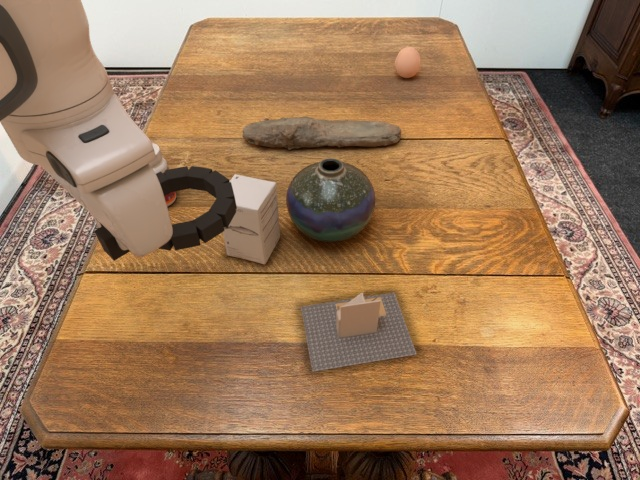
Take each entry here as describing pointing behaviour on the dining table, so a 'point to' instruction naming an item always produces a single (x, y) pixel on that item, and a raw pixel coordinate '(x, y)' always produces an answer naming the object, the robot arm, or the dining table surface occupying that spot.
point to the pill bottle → (161, 166)
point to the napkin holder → (356, 331)
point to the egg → (407, 62)
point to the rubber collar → (199, 227)
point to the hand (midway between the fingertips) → (118, 235)
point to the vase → (330, 200)
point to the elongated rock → (320, 133)
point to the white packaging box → (253, 220)
